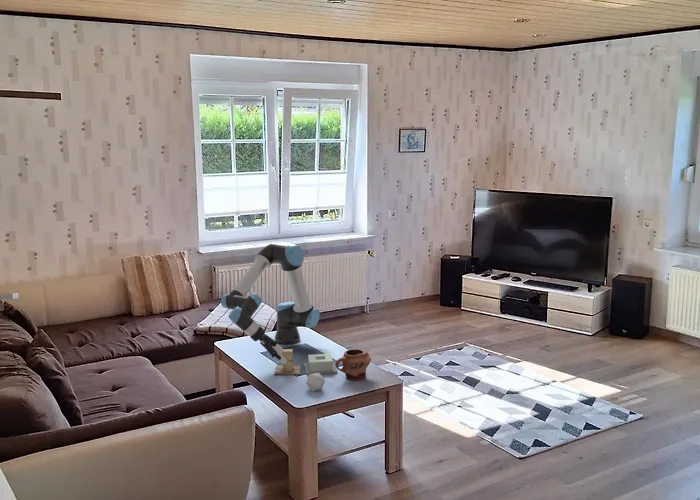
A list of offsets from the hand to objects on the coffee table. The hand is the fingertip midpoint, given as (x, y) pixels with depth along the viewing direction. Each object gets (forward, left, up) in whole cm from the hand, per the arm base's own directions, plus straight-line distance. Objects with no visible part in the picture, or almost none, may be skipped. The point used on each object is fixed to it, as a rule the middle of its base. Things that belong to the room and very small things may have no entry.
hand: (284, 358), depth 337 cm
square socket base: (-1, +18, -7) cm, 20 cm away
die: (+27, +13, -7) cm, 31 cm away
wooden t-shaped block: (-1, +1, -7) cm, 7 cm away
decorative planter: (+15, +33, -7) cm, 38 cm away
